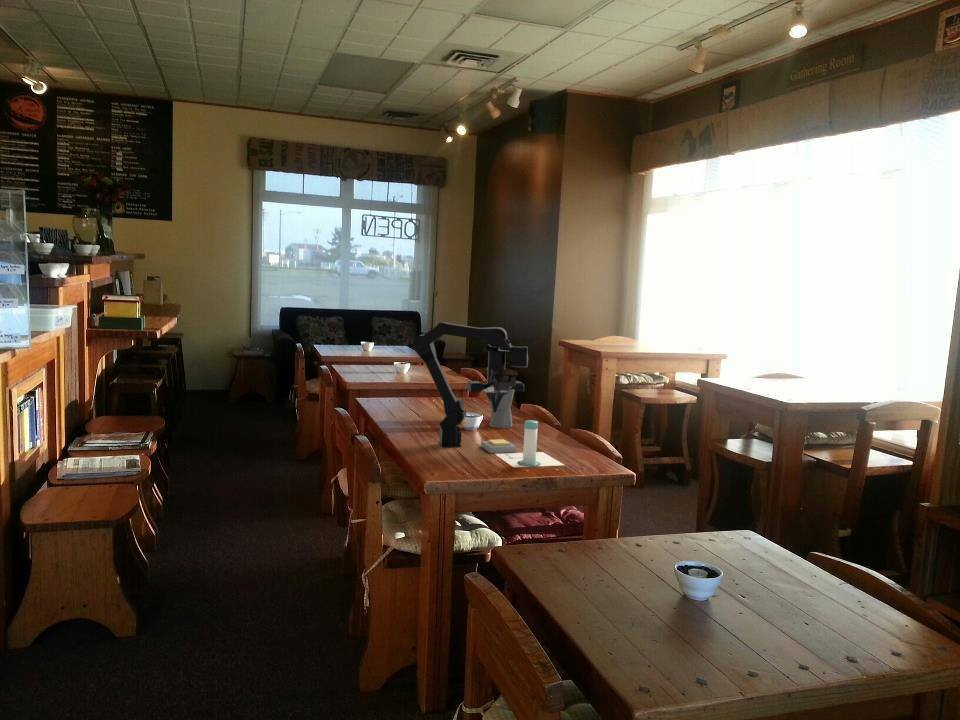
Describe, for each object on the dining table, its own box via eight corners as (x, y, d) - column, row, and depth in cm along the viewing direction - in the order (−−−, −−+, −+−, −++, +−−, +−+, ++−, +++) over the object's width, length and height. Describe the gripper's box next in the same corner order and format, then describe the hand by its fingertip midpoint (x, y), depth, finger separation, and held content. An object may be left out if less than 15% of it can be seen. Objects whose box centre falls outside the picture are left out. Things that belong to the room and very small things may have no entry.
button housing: (490, 454, 247) (490, 447, 247) (481, 448, 256) (481, 441, 255) (516, 453, 250) (516, 446, 250) (506, 447, 259) (506, 440, 258)
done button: (493, 450, 249) (494, 443, 249) (488, 446, 254) (488, 439, 254) (509, 449, 251) (509, 443, 251) (503, 445, 256) (503, 439, 256)
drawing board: (512, 469, 230) (512, 467, 230) (492, 454, 247) (492, 452, 247) (566, 467, 236) (567, 464, 236) (543, 453, 253) (543, 451, 253)
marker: (523, 464, 234) (525, 422, 232) (522, 461, 238) (524, 420, 236) (536, 464, 234) (538, 423, 233) (534, 461, 238) (537, 420, 237)
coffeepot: (502, 430, 286) (504, 382, 284) (481, 426, 291) (483, 379, 289) (522, 424, 299) (525, 379, 296) (502, 421, 304) (504, 376, 302)
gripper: (477, 368, 242) (475, 417, 244) (531, 369, 248) (529, 416, 250) (466, 364, 253) (464, 410, 254) (519, 364, 259) (517, 410, 260)
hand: (494, 412), depth 254 cm, fingers closed
